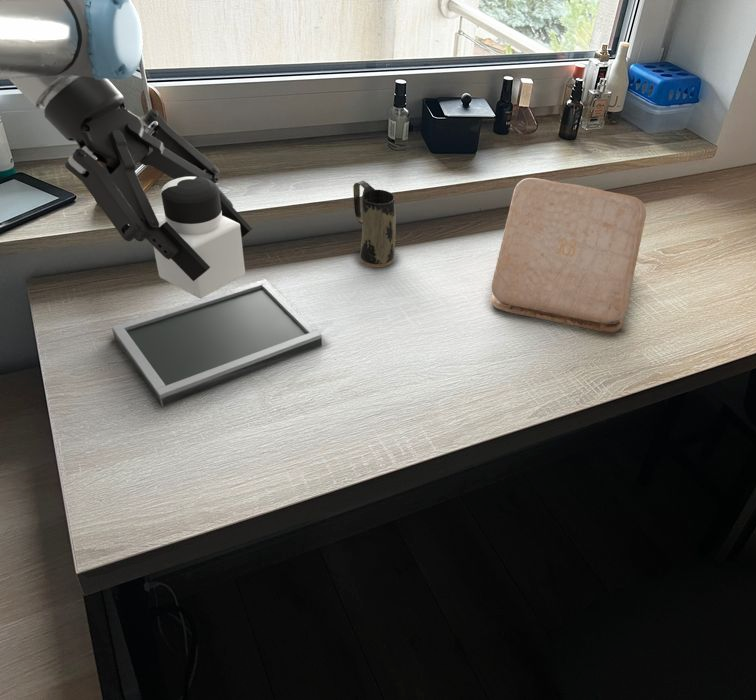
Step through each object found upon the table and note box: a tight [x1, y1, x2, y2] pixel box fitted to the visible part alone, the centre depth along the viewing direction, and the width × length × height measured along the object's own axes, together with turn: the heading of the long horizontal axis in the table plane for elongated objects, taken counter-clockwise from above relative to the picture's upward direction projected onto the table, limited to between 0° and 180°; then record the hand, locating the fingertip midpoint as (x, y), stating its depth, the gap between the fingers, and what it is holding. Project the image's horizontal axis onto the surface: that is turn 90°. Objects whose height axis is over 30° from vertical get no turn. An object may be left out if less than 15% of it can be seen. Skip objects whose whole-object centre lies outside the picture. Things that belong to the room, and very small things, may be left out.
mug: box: [352, 180, 397, 268], centre depth 115 cm, size 8×6×12 cm
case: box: [491, 177, 647, 333], centre depth 111 cm, size 20×21×16 cm
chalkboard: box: [111, 278, 323, 408], centre depth 97 cm, size 22×16×2 cm
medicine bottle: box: [152, 177, 246, 299], centre depth 83 cm, size 7×7×12 cm
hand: (224, 254), depth 84 cm, fingers closed on medicine bottle, 9 cm apart
